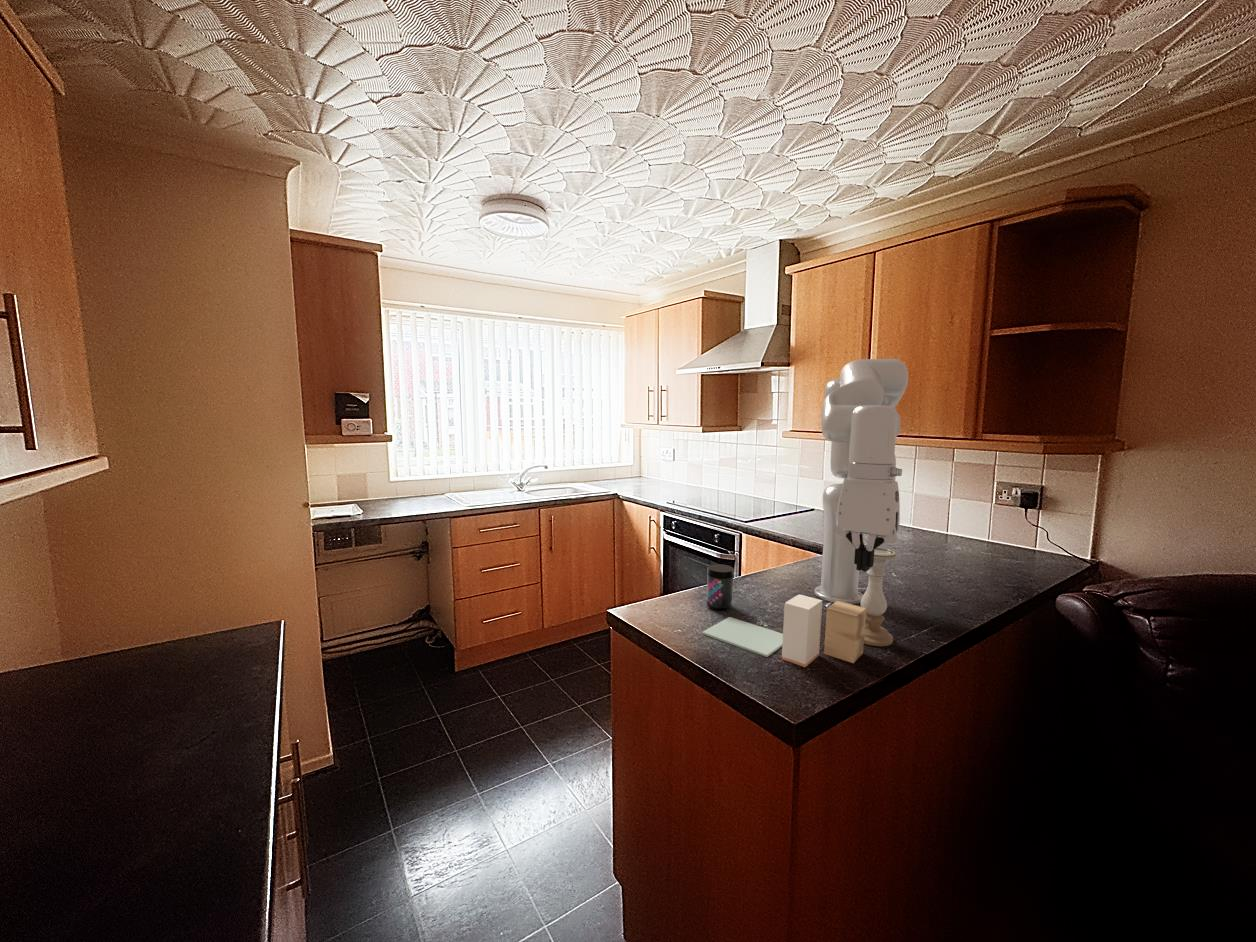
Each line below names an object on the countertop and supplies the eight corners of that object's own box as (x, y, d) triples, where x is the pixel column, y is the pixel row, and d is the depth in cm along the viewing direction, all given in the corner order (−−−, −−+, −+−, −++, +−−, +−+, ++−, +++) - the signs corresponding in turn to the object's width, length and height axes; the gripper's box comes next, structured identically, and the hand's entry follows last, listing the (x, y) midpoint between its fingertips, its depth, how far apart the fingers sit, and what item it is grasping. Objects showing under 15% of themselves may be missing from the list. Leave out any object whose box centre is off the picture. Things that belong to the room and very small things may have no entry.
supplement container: (705, 601, 135) (706, 563, 134) (730, 602, 135) (732, 564, 134) (707, 611, 129) (708, 571, 127) (734, 612, 128) (735, 572, 127)
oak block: (834, 644, 111) (837, 600, 110) (862, 653, 107) (866, 608, 106) (823, 653, 107) (826, 608, 106) (853, 663, 103) (856, 616, 102)
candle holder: (860, 626, 121) (866, 543, 118) (899, 639, 114) (906, 552, 112) (843, 637, 115) (849, 550, 113) (883, 650, 108) (890, 559, 106)
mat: (729, 618, 124) (729, 616, 124) (791, 638, 114) (791, 636, 113) (702, 633, 115) (702, 631, 115) (767, 657, 105) (767, 654, 105)
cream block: (795, 647, 109) (798, 594, 108) (818, 655, 106) (822, 600, 105) (781, 659, 104) (784, 603, 103) (805, 667, 101) (808, 609, 99)
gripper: (920, 474, 91) (912, 573, 93) (836, 468, 101) (830, 557, 103) (910, 477, 85) (901, 583, 87) (821, 470, 95) (816, 565, 97)
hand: (863, 569), depth 95 cm, fingers closed
